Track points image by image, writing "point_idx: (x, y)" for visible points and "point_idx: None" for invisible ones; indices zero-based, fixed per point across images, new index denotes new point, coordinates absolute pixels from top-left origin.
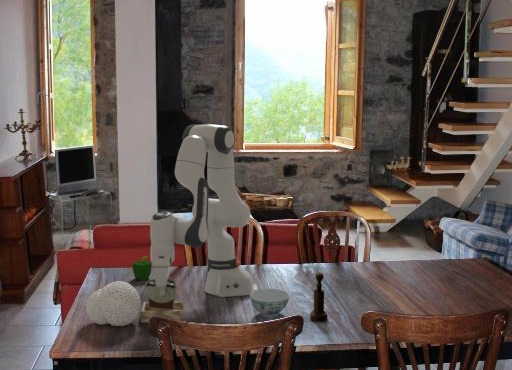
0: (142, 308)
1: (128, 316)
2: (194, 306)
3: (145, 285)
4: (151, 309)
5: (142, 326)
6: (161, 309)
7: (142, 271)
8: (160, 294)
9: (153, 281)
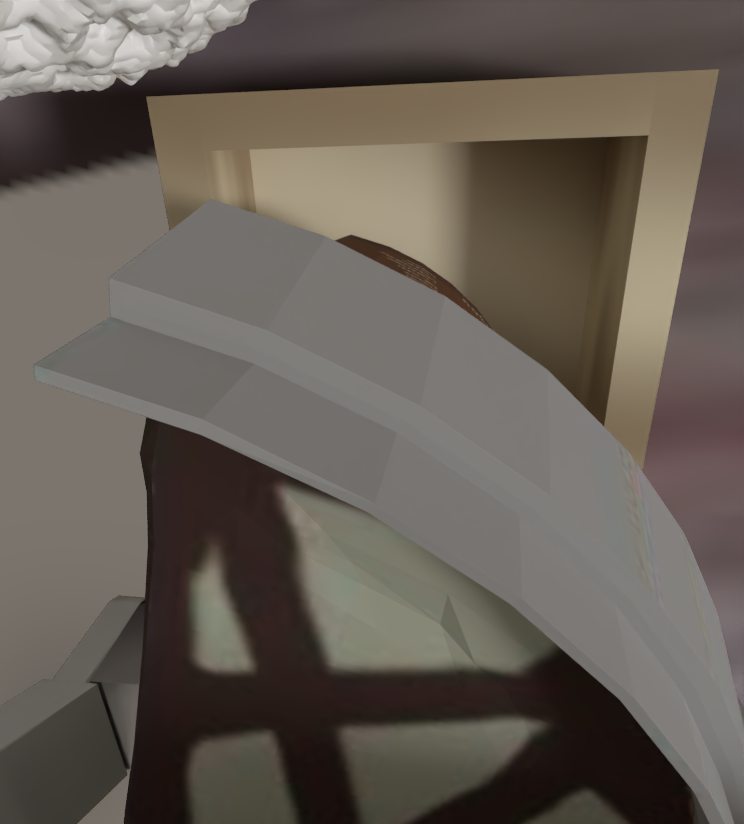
0: (310, 107)
1: None
2: (733, 676)
3: (171, 253)
4: (598, 229)
5: (88, 151)
6: (580, 376)
7: None
8: (109, 612)
9: (575, 673)
